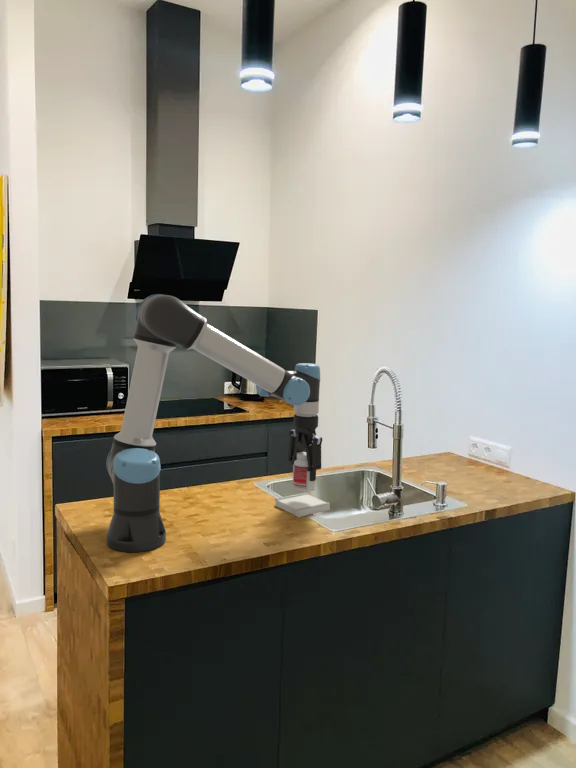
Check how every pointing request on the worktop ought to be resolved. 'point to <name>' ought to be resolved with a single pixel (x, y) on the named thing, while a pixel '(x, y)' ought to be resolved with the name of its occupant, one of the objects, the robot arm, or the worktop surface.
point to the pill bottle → (300, 471)
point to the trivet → (302, 504)
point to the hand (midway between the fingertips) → (303, 487)
